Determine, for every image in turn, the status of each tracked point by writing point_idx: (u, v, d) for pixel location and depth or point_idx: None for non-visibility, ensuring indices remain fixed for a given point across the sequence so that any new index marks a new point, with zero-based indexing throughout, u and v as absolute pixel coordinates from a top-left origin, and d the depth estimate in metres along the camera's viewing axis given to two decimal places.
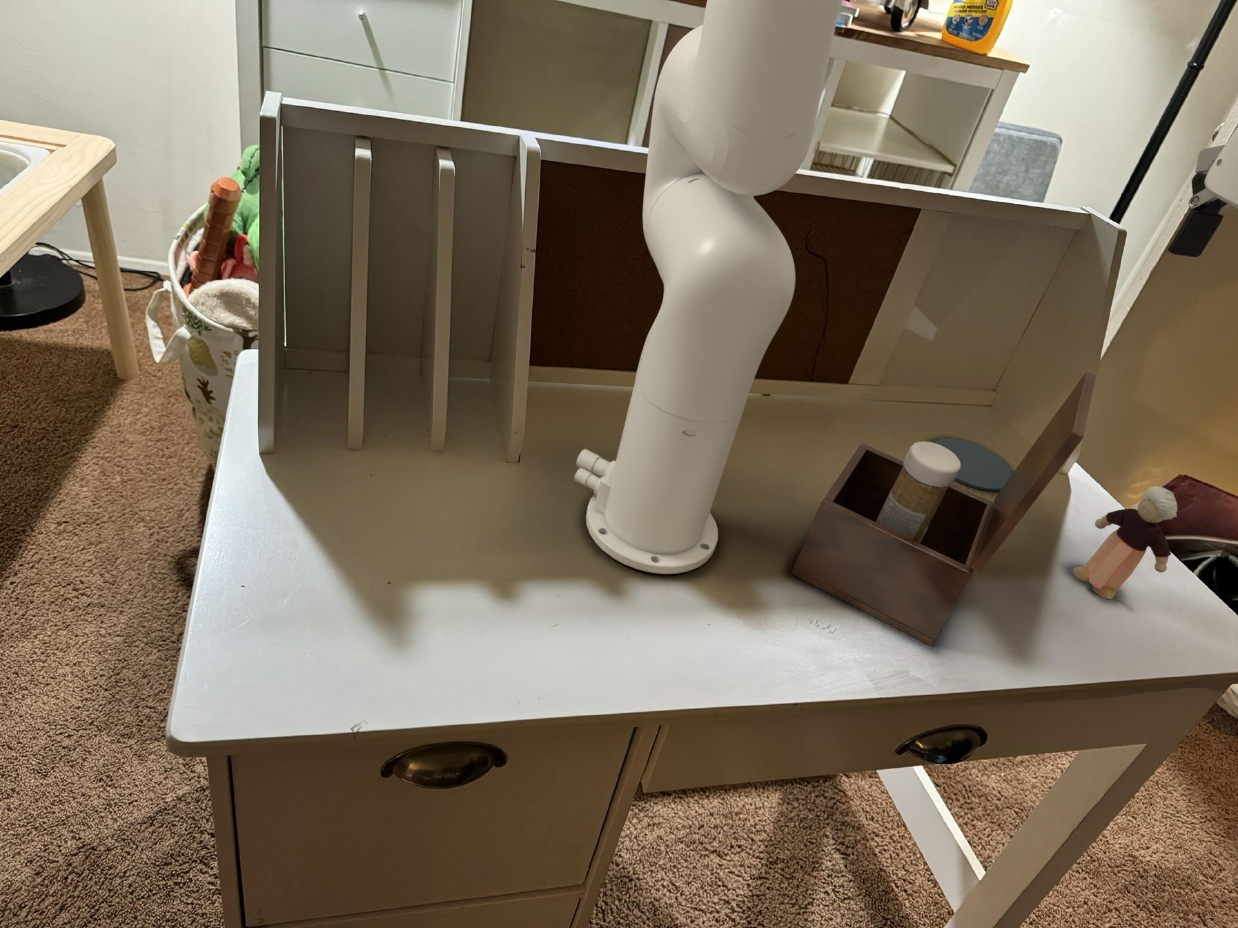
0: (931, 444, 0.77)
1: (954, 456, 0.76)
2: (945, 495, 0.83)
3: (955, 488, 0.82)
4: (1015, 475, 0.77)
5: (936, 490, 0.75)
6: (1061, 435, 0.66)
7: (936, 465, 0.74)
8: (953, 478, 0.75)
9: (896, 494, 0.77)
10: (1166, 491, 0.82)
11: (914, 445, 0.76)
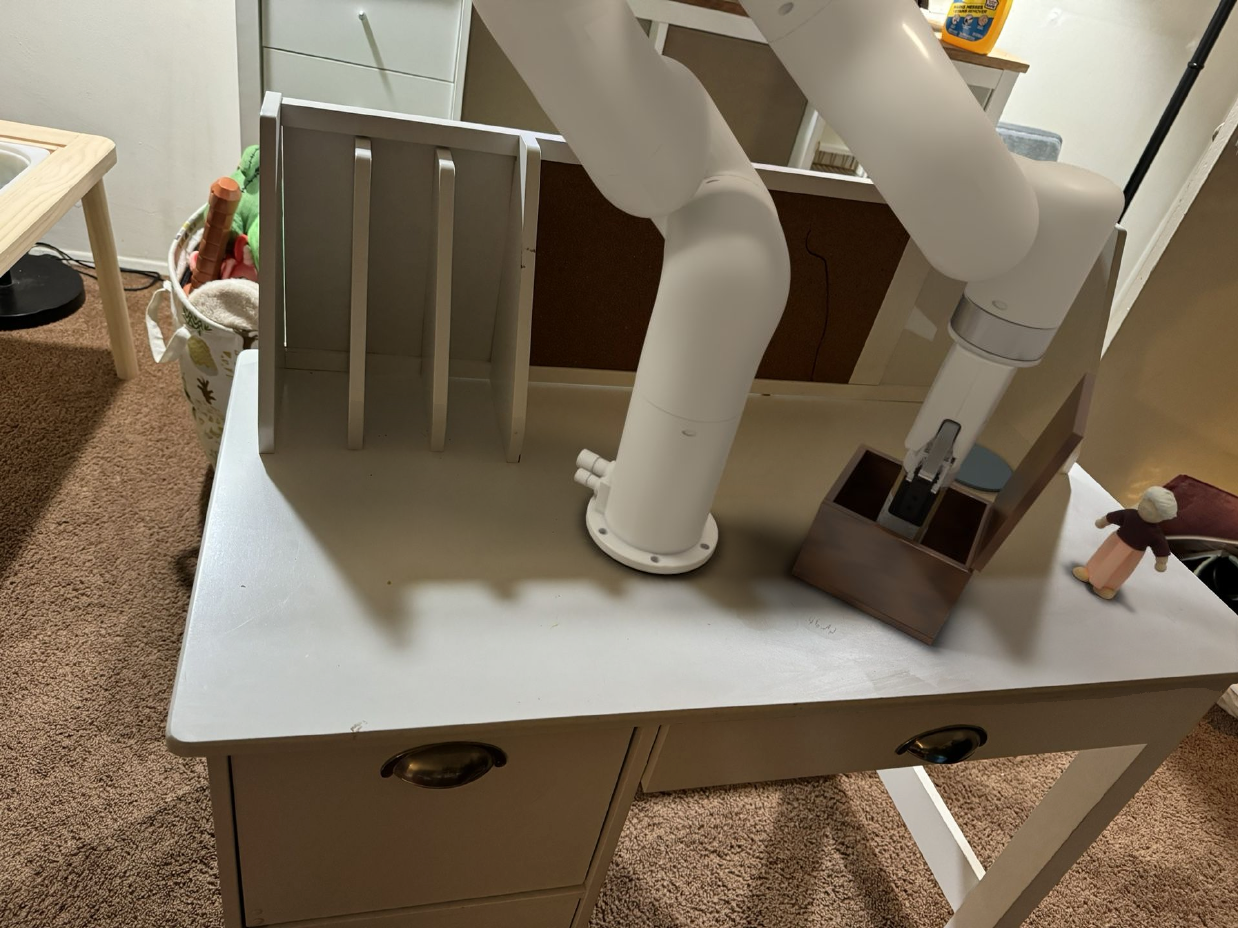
0: None
1: None
2: (945, 495, 0.83)
3: (955, 488, 0.82)
4: (1015, 475, 0.77)
5: None
6: (1061, 435, 0.66)
7: None
8: (953, 478, 0.75)
9: None
10: (1166, 491, 0.82)
11: None
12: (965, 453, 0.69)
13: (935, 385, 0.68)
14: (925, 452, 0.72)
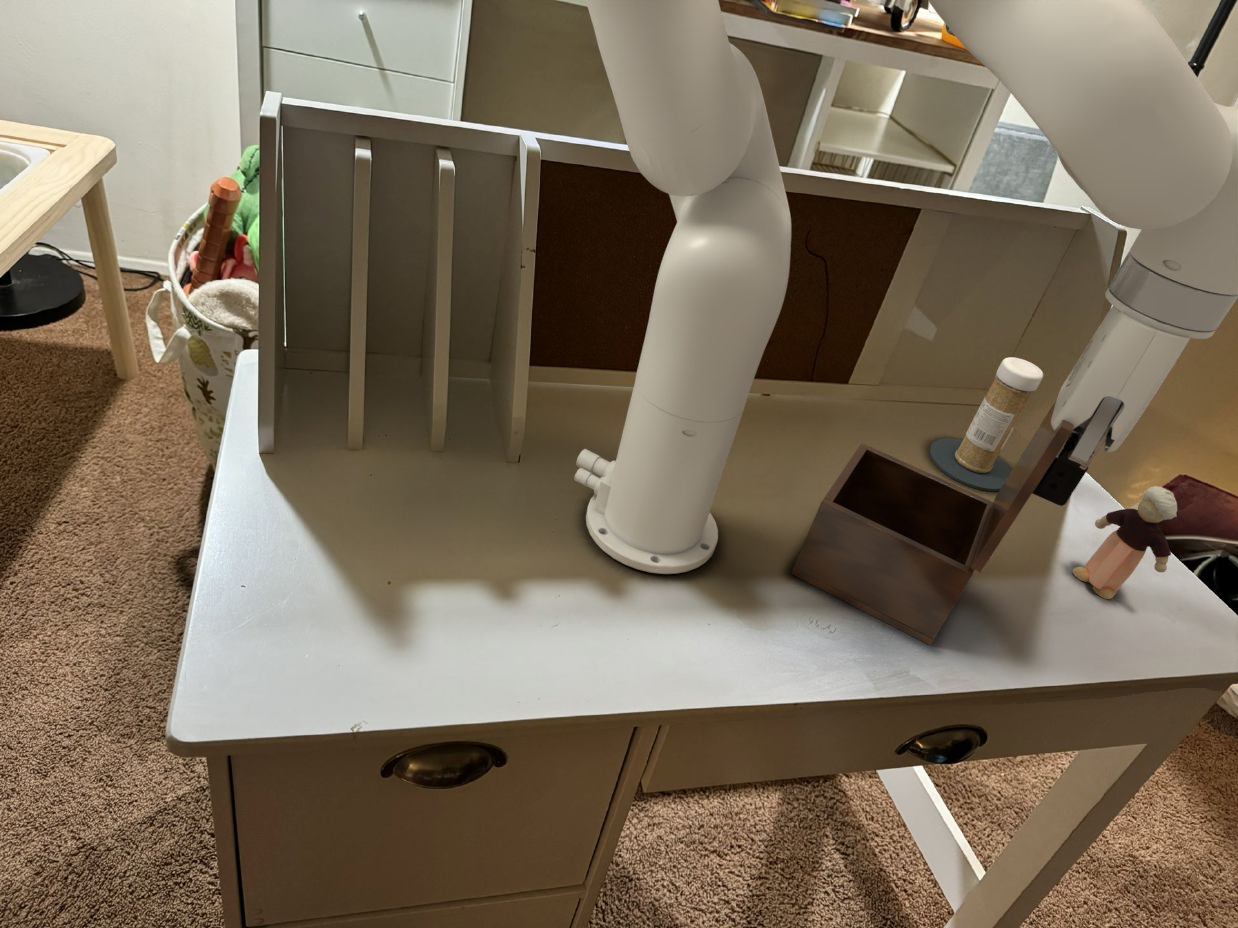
0: (1018, 359, 0.97)
1: (1037, 368, 0.96)
2: (945, 495, 0.83)
3: (955, 488, 0.82)
4: (1012, 474, 0.77)
5: (1024, 393, 0.95)
6: (1051, 431, 0.67)
7: (1025, 373, 0.94)
8: (1037, 384, 0.95)
9: (990, 399, 0.98)
10: (1166, 491, 0.82)
11: (1005, 359, 0.96)
12: (1125, 434, 0.63)
13: (1095, 359, 0.62)
14: (1073, 431, 0.67)
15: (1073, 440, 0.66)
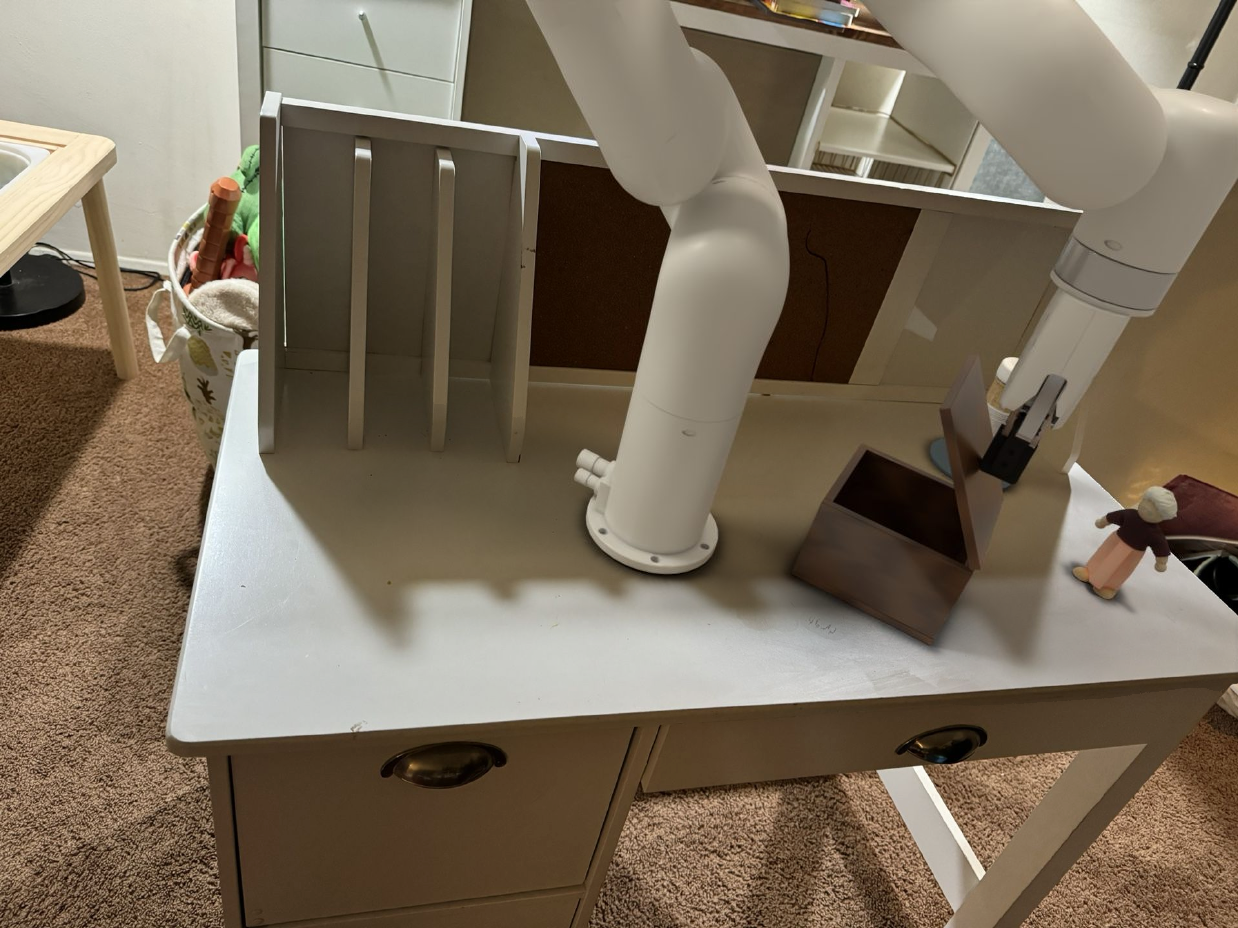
0: None
1: None
2: (945, 495, 0.83)
3: None
4: None
5: None
6: None
7: None
8: None
9: (990, 399, 0.98)
10: (1166, 491, 0.82)
11: (1005, 359, 0.96)
12: (1069, 412, 0.64)
13: (1039, 337, 0.63)
14: (1022, 410, 0.68)
15: (1021, 418, 0.68)
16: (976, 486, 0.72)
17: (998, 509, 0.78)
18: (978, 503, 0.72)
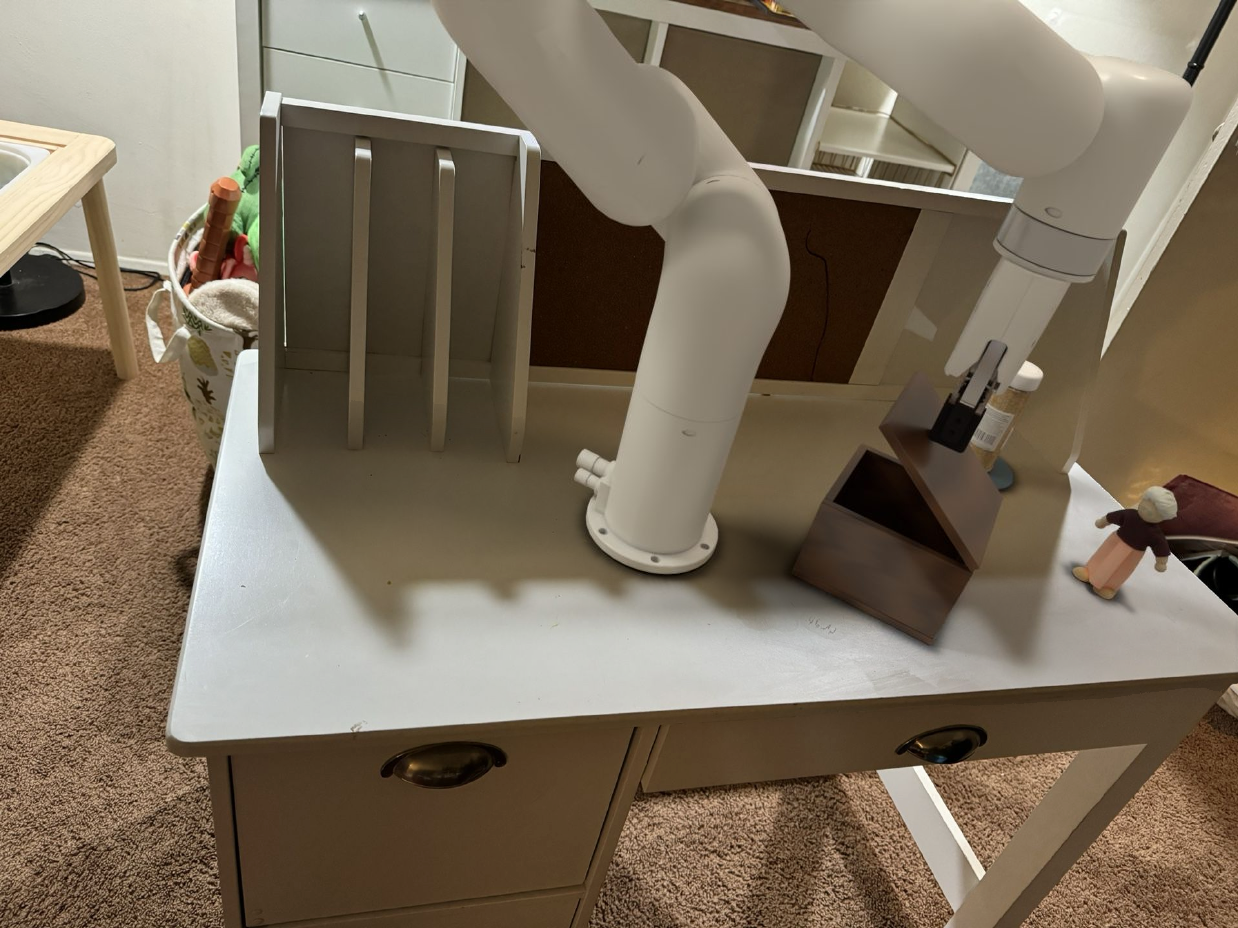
0: None
1: (1037, 368, 0.96)
2: None
3: None
4: None
5: (1024, 394, 0.95)
6: None
7: (1025, 373, 0.94)
8: (1037, 384, 0.95)
9: (990, 399, 0.98)
10: (1166, 491, 0.82)
11: None
12: (1010, 377, 0.65)
13: (980, 304, 0.64)
14: (967, 378, 0.69)
15: (966, 386, 0.69)
16: (950, 490, 0.73)
17: (995, 508, 0.78)
18: (958, 505, 0.73)
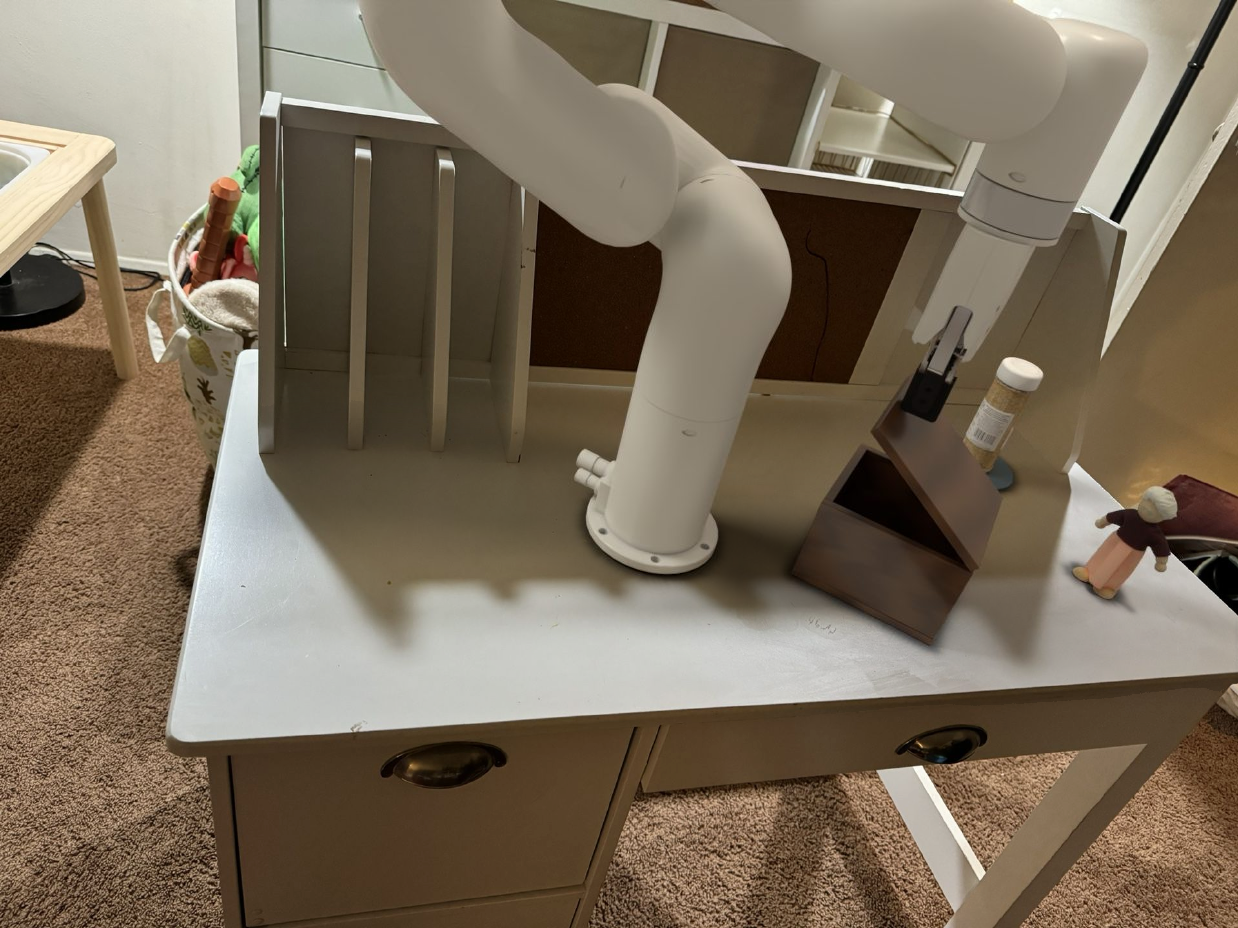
0: (1018, 359, 0.97)
1: (1037, 368, 0.96)
2: None
3: None
4: None
5: (1024, 394, 0.95)
6: None
7: (1025, 373, 0.94)
8: (1037, 384, 0.95)
9: (990, 399, 0.98)
10: (1166, 491, 0.82)
11: (1005, 359, 0.96)
12: (976, 343, 0.65)
13: (944, 270, 0.64)
14: (935, 346, 0.69)
15: (934, 354, 0.69)
16: (947, 491, 0.73)
17: (995, 508, 0.78)
18: (956, 506, 0.73)
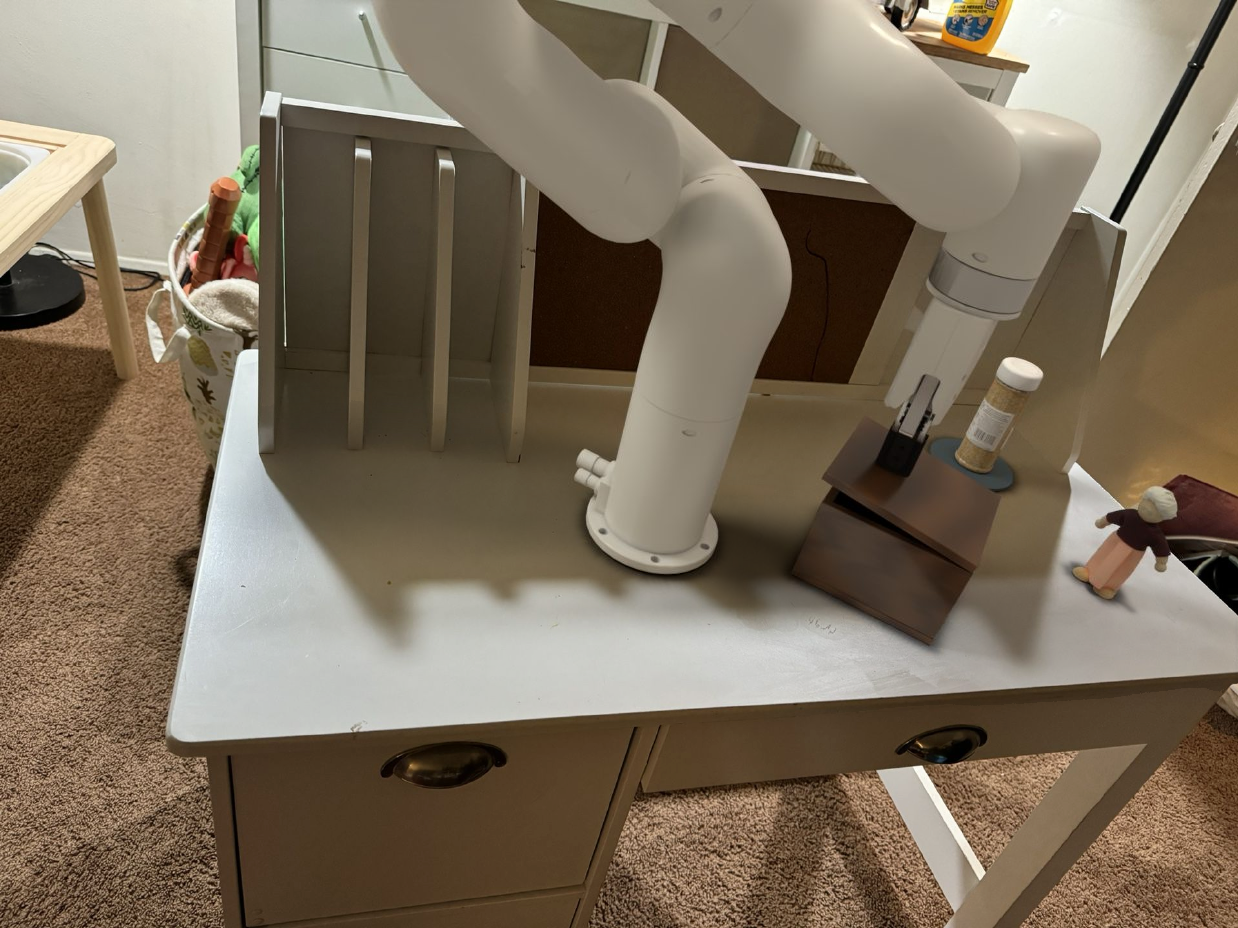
0: (1018, 359, 0.97)
1: (1037, 368, 0.96)
2: None
3: None
4: None
5: (1024, 393, 0.95)
6: None
7: (1025, 373, 0.94)
8: (1037, 384, 0.95)
9: (990, 399, 0.98)
10: (1166, 491, 0.82)
11: (1005, 359, 0.96)
12: (944, 409, 0.68)
13: (913, 340, 0.68)
14: (907, 408, 0.73)
15: (906, 416, 0.72)
16: (923, 507, 0.75)
17: (991, 508, 0.79)
18: (936, 518, 0.75)
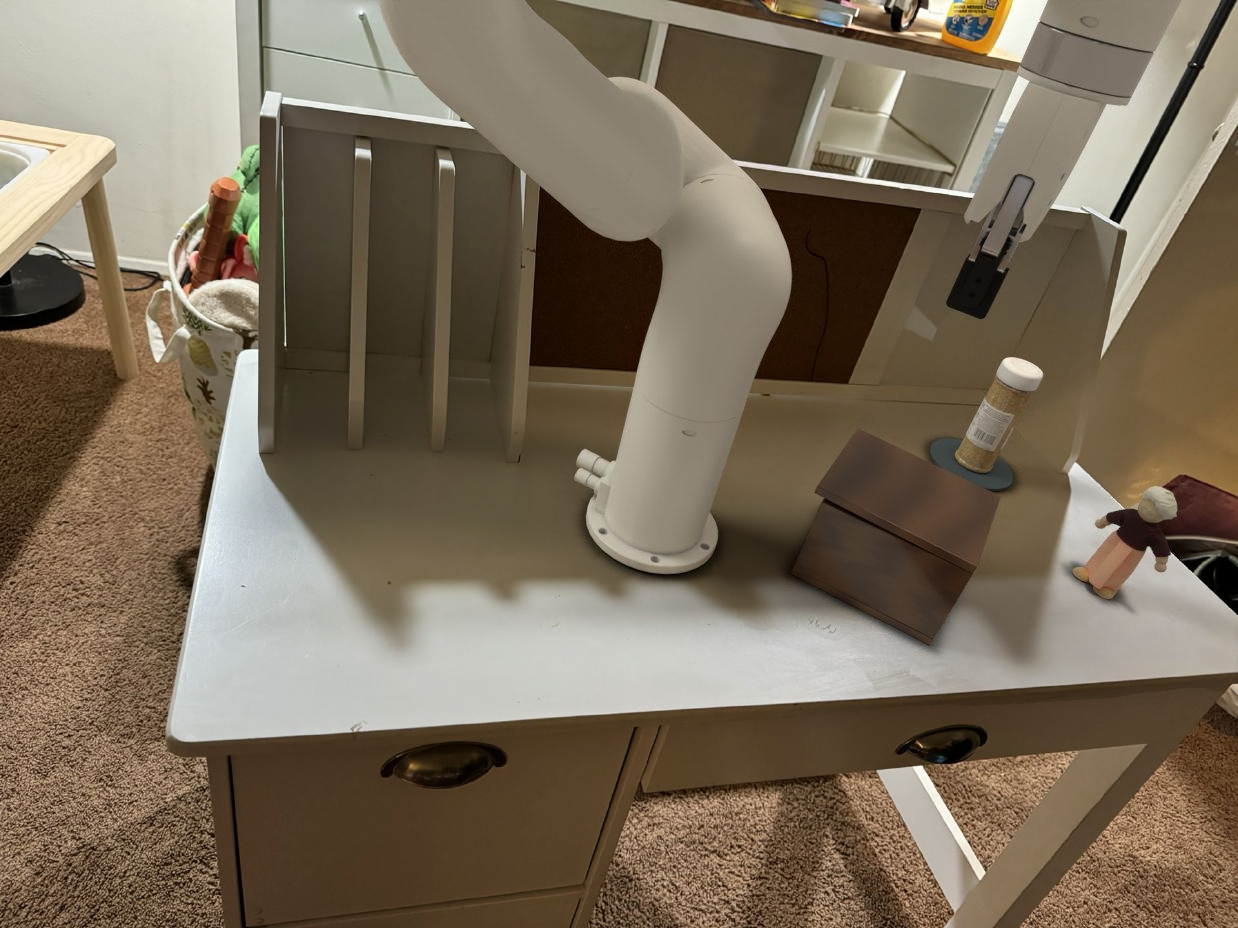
0: (1018, 359, 0.97)
1: (1037, 368, 0.96)
2: None
3: None
4: None
5: (1024, 393, 0.95)
6: None
7: (1025, 373, 0.94)
8: (1037, 384, 0.95)
9: (990, 399, 0.98)
10: (1166, 491, 0.82)
11: (1005, 359, 0.96)
12: (1037, 217, 0.59)
13: (1004, 135, 0.59)
14: (989, 228, 0.64)
15: (988, 236, 0.63)
16: (919, 512, 0.76)
17: (991, 508, 0.79)
18: (933, 522, 0.75)
